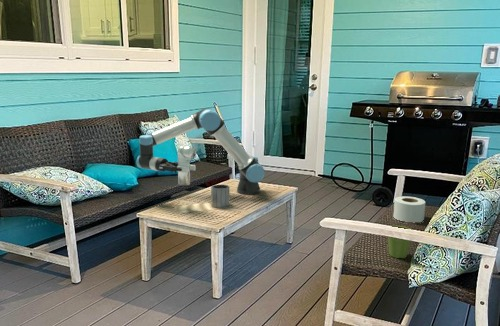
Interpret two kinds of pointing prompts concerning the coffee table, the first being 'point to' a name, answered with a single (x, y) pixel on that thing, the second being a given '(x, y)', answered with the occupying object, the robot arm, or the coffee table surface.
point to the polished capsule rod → (185, 163)
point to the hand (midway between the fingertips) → (190, 169)
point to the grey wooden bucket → (220, 196)
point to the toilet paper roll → (409, 209)
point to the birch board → (195, 207)
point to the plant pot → (398, 246)
